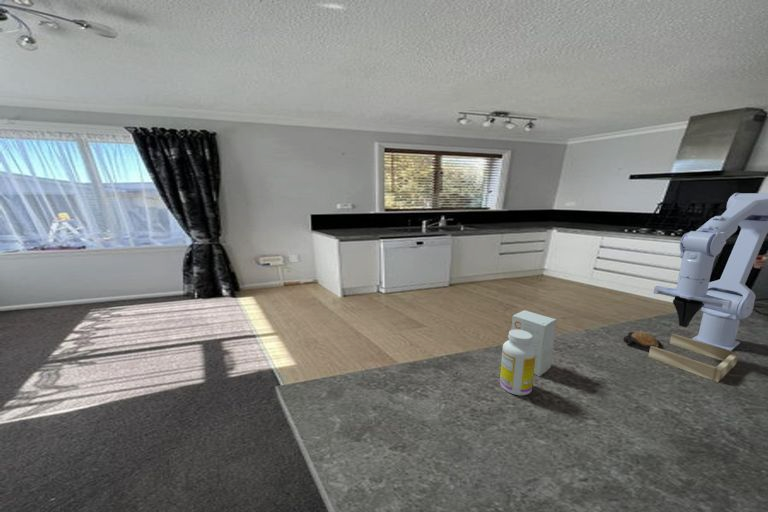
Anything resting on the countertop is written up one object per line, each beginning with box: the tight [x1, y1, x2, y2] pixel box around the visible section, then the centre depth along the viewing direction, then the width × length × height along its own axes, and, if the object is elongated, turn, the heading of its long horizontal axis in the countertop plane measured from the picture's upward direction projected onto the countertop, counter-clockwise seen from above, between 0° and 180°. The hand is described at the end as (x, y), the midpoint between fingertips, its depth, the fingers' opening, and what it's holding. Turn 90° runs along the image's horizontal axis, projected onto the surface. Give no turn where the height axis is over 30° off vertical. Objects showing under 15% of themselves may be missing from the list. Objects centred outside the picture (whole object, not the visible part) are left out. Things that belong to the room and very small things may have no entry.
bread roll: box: [622, 331, 662, 353], centre depth 88 cm, size 11×8×4 cm
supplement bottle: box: [499, 329, 536, 396], centre depth 66 cm, size 7×7×13 cm
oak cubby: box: [648, 333, 740, 383], centre depth 79 cm, size 16×13×3 cm
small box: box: [510, 309, 557, 377], centre depth 75 cm, size 8×6×13 cm
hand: (683, 325), depth 82 cm, fingers closed
